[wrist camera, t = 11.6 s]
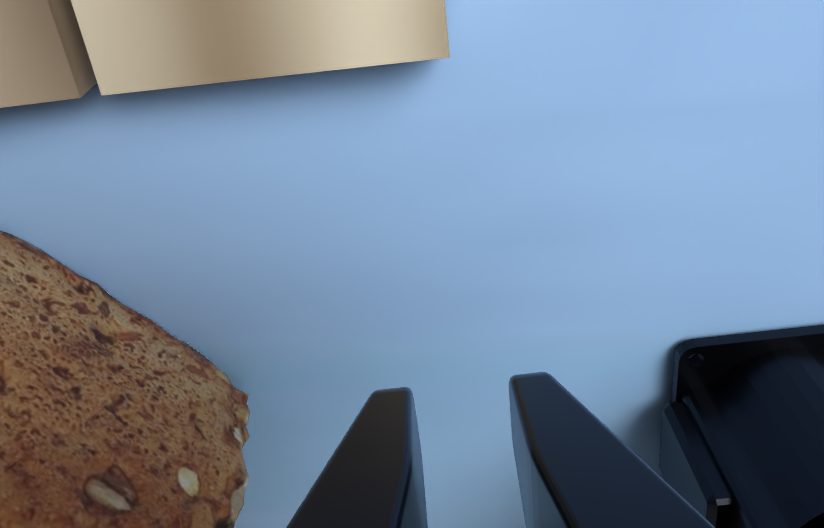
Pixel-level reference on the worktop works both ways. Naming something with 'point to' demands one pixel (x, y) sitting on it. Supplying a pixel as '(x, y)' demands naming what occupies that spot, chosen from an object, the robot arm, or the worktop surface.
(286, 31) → the oak plank
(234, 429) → the bread
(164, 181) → the worktop surface
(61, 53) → the cardboard box
